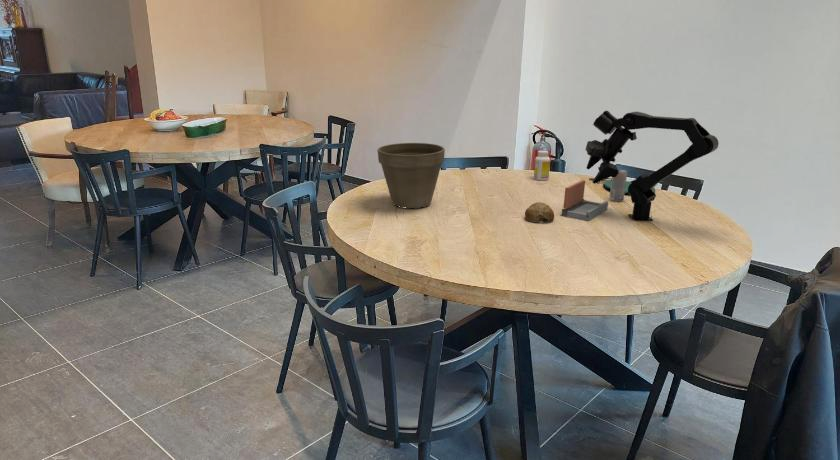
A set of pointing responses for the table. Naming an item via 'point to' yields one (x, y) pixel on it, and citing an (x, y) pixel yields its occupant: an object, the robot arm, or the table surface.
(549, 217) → the bread roll
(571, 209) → the sill
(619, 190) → the energy drink
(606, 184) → the cutlery set
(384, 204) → the table surface
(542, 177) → the supplement bottle
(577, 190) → the panel
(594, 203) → the tray
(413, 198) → the plant pot
